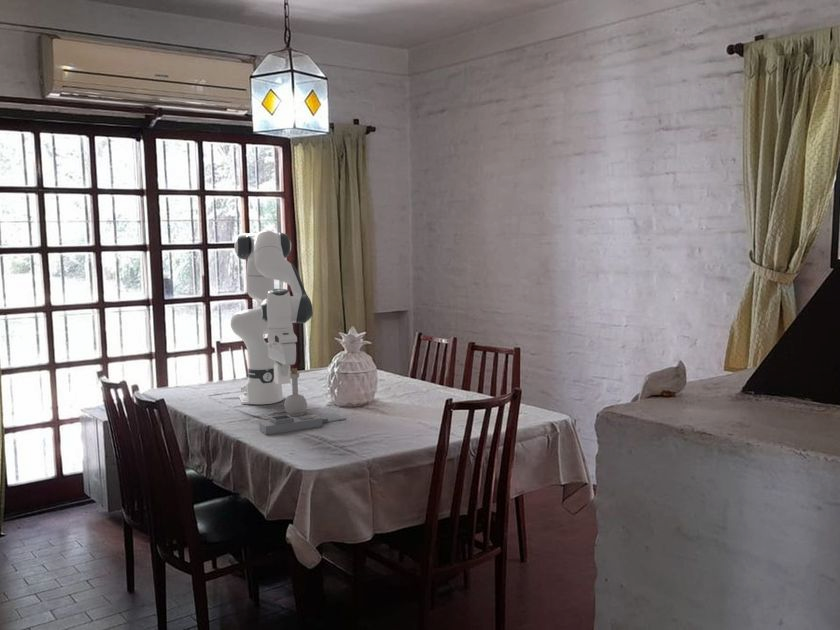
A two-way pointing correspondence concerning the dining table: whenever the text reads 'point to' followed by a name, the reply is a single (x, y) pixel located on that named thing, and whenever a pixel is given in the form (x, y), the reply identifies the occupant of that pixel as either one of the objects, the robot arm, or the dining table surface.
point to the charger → (278, 374)
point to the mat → (332, 417)
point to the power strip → (290, 423)
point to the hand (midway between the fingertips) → (282, 374)
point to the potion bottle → (295, 398)
